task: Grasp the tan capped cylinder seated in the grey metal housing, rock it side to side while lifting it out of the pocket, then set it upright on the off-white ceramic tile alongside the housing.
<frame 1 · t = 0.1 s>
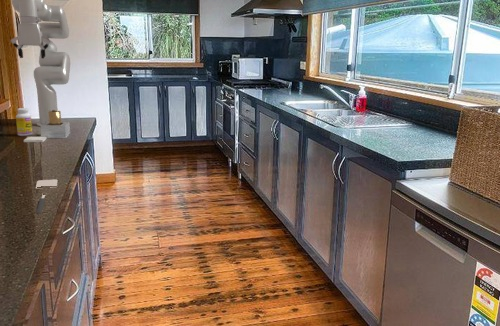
hand: (32, 58, 221), 37 cm above the worktop, tool pointing down, fingers open, 9 cm apart
tan capped cylinder: (56, 131, 223), point 2 cm above the worktop, touching housing
supplement bottle: (25, 135, 224), on the worktop
housing: (56, 135, 224), on the worktop
tile: (35, 140, 212), on the worktop
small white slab: (43, 198, 136), on the worktop
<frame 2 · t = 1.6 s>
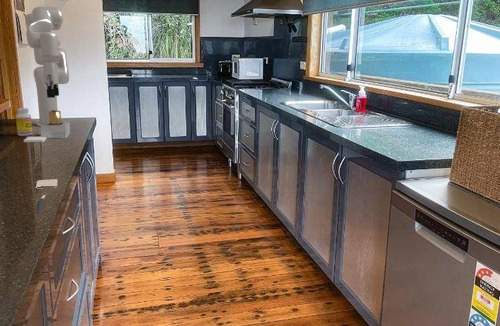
hand: (53, 96, 218), 19 cm above the worktop, tool pointing down, fingers open, 9 cm apart
nothing on the worktop moved.
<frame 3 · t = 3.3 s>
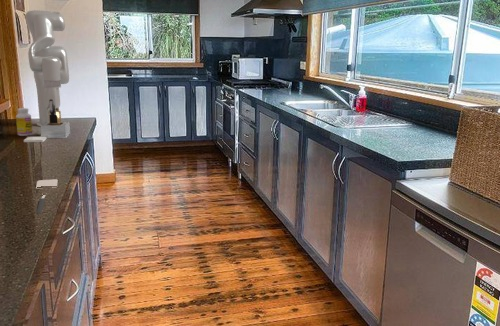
hand: (55, 121, 222), 7 cm above the worktop, tool pointing down, fingers closed on tan capped cylinder, 5 cm apart
tan capped cylinder: (56, 131, 223), point 2 cm above the worktop, touching gripper, housing
everything else where it was.
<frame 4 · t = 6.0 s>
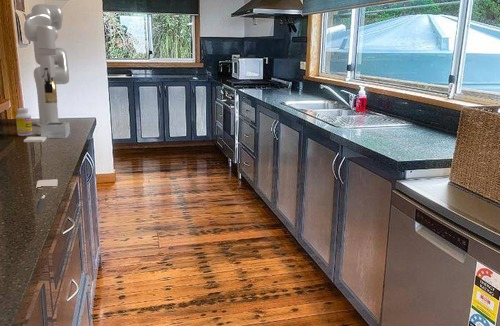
hand: (50, 91, 217), 22 cm above the worktop, tool pointing down, fingers closed on tan capped cylinder, 5 cm apart
tan capped cylinder: (51, 102, 218), point 16 cm above the worktop, touching gripper
everything else where it was.
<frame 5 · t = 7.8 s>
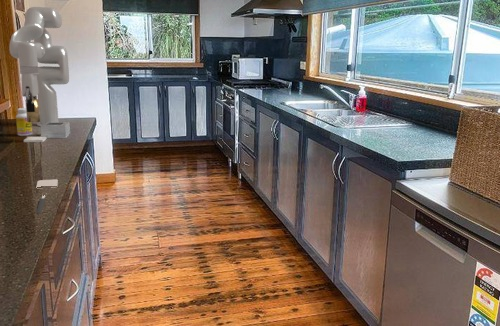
hand: (32, 110, 209), 14 cm above the worktop, tool pointing down, fingers closed on tan capped cylinder, 5 cm apart
tan capped cylinder: (33, 121, 210), point 9 cm above the worktop, touching gripper
everything else where it was.
when the fingers open (7 cm above the worktop, at t = 9.2 s): tan capped cylinder drops 1 cm, resting on tile.
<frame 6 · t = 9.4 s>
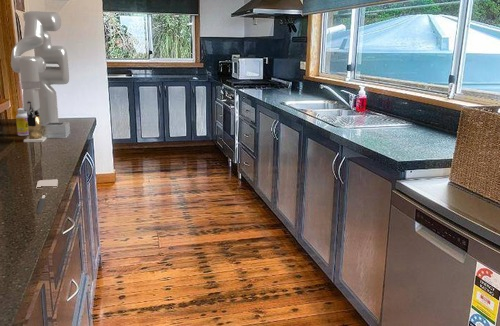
hand: (34, 124, 210), 7 cm above the worktop, tool pointing down, fingers open, 7 cm apart
tan capped cylinder: (35, 138, 212), point 1 cm above the worktop, touching tile
everything else where it was.
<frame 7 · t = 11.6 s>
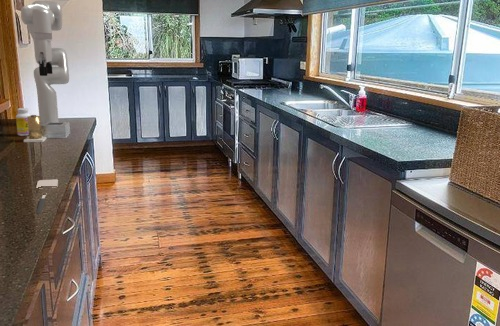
hand: (46, 74, 216), 29 cm above the worktop, tool pointing down, fingers open, 9 cm apart
nothing on the worktop moved.
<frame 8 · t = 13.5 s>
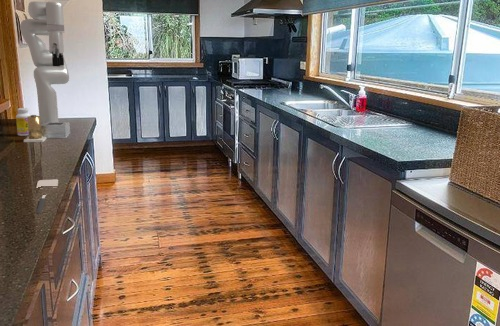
hand: (58, 65, 223), 33 cm above the worktop, tool pointing down, fingers open, 9 cm apart
nothing on the worktop moved.
at the end: tan capped cylinder inside the target area on the tile (0.4 cm from its centre), point 1.0 cm above the tile's base; tan capped cylinder tilted 0°; tan capped cylinder touching tile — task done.
